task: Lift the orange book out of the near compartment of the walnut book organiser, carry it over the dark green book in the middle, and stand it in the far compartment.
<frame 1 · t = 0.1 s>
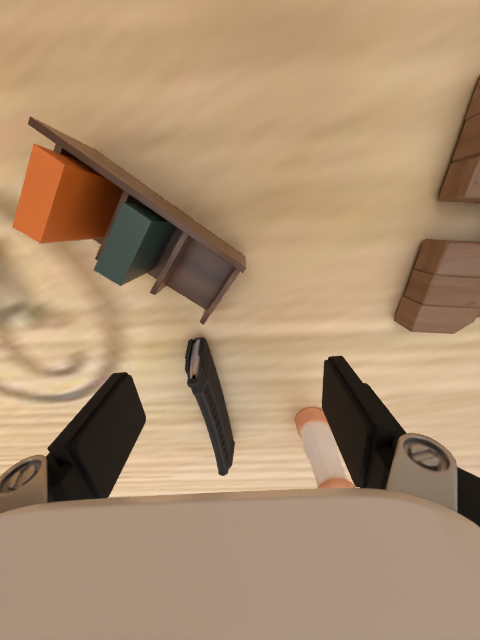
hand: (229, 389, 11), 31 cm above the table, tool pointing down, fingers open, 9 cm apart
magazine: (215, 390, 50), on the table
pepper shaker: (310, 418, 53), on the table
green book: (157, 240, 37), point 1 cm above the table, touching book rack
orange book: (107, 206, 35), point 1 cm above the table, touching book rack
book rack: (159, 239, 38), on the table
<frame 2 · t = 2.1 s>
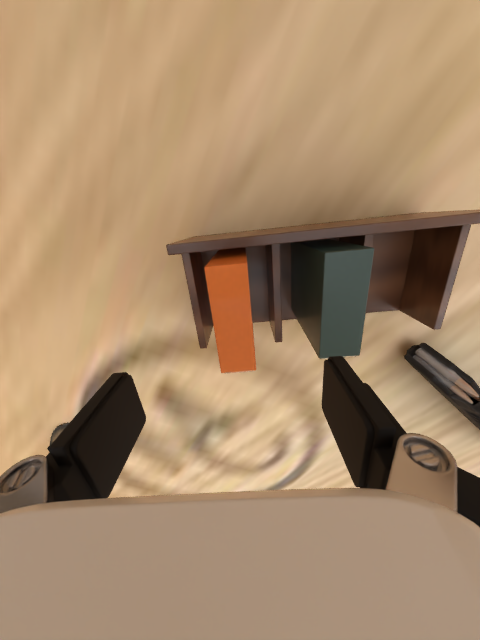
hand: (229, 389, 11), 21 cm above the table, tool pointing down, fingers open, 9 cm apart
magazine: (452, 390, 37), on the table
green book: (304, 275, 29), point 1 cm above the table, touching book rack
orange book: (236, 282, 29), point 1 cm above the table, touching book rack
book rack: (303, 274, 29), on the table
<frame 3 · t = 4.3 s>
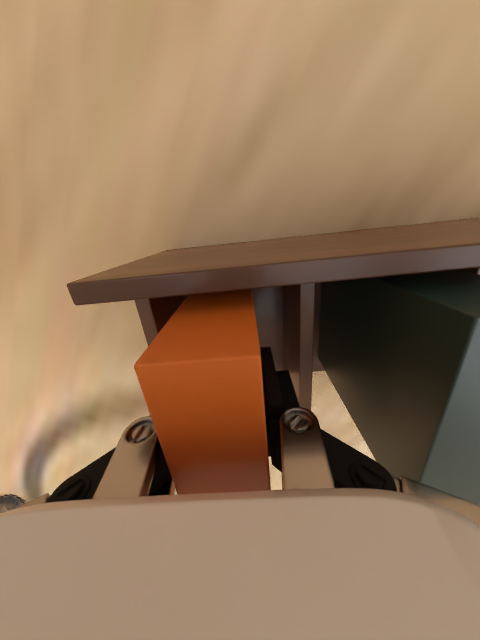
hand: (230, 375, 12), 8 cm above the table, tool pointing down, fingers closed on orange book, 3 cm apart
green book: (341, 309, 18), point 1 cm above the table, touching book rack
orange book: (235, 319, 19), point 1 cm above the table, touching book rack, gripper
book rack: (337, 306, 19), on the table
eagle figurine: (22, 513, 32), on the table
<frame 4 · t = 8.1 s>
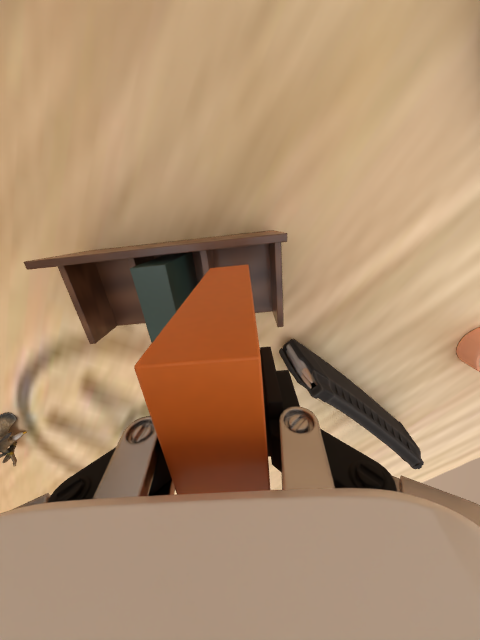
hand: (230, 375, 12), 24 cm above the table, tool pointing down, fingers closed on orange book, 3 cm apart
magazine: (340, 382, 42), on the table
pepper shaker: (477, 344, 39), on the table
green book: (186, 282, 34), point 1 cm above the table, touching book rack
orange book: (235, 319, 19), point 17 cm above the table, touching gripper
book rack: (187, 281, 35), on the table
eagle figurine: (16, 428, 48), on the table
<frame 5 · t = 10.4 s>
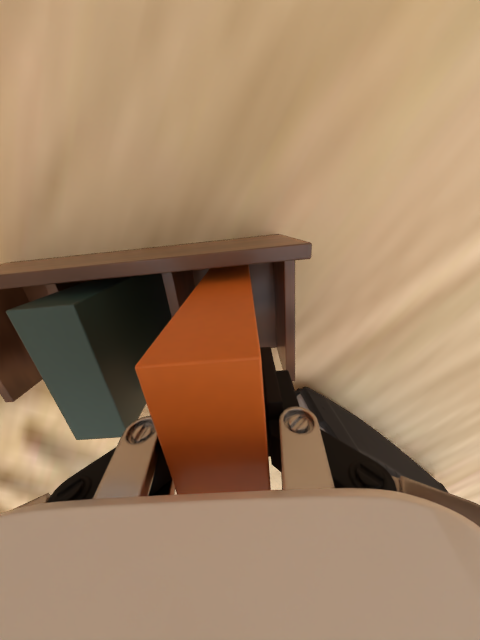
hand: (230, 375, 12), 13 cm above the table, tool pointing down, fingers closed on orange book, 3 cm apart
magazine: (365, 433, 32), on the table
green book: (153, 308, 24), point 1 cm above the table, touching book rack
orange book: (235, 320, 19), point 6 cm above the table, touching gripper
book rack: (156, 305, 24), on the table
when the fingers open (8 cm above the table, at t = 11.8 s): orange book stays where it is, resting on book rack.
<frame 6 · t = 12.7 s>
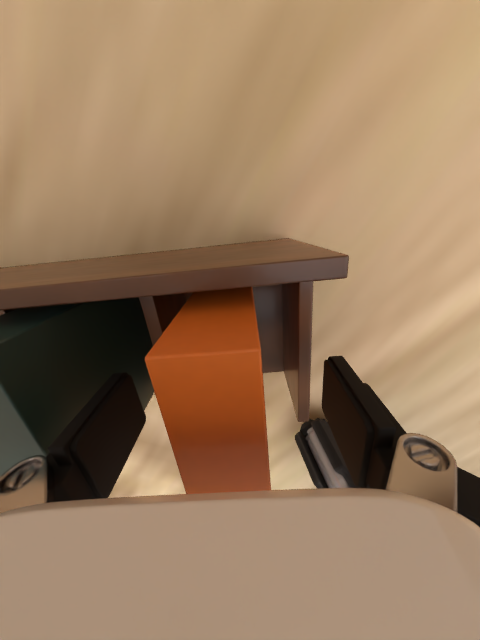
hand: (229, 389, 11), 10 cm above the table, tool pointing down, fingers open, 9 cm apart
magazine: (383, 465, 28), on the table
green book: (137, 326, 20), point 1 cm above the table, touching book rack
orange book: (235, 318, 19), point 1 cm above the table, touching book rack
book rack: (140, 322, 20), on the table
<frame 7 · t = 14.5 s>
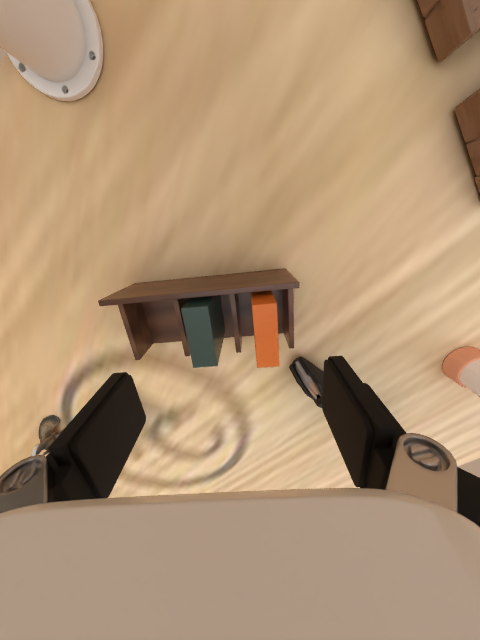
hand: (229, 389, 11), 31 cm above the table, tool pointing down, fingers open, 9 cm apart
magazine: (341, 392, 48), on the table
pepper shaker: (460, 362, 45), on the table
green book: (212, 309, 41), point 1 cm above the table, touching book rack
orange book: (260, 305, 40), point 1 cm above the table, touching book rack
book rack: (213, 307, 42), on the table
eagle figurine: (58, 429, 55), on the table
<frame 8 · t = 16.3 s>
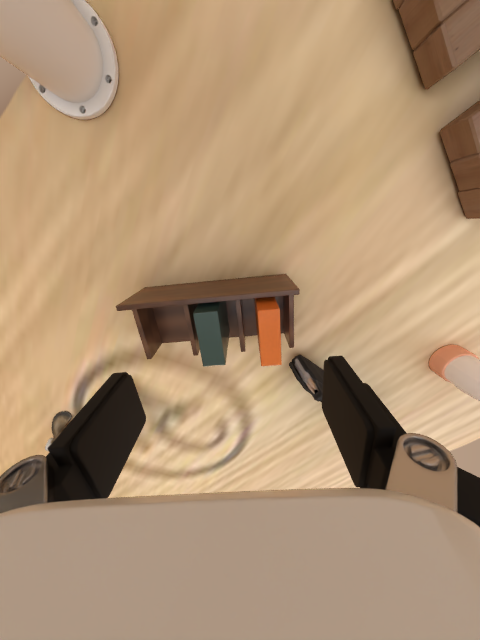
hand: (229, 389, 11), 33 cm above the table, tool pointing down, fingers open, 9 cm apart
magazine: (336, 387, 52), on the table
pepper shaker: (445, 358, 49), on the table
green book: (218, 311, 44), point 1 cm above the table, touching book rack
orange book: (262, 307, 44), point 1 cm above the table, touching book rack
book rack: (218, 310, 45), on the table
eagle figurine: (70, 424, 58), on the table
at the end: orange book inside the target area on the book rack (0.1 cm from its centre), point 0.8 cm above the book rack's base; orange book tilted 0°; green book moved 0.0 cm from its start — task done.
